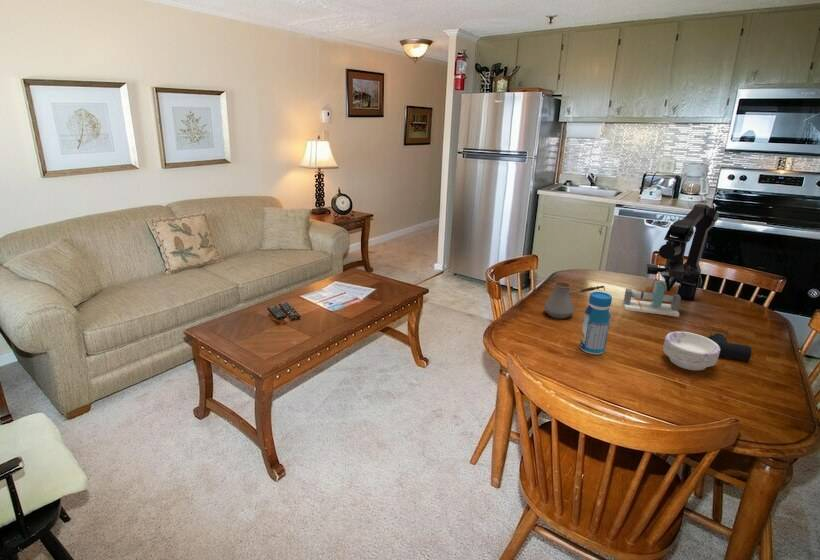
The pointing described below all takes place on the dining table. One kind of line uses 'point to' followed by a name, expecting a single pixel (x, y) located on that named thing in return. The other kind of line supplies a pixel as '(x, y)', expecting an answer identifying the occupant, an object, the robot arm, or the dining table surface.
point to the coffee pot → (563, 300)
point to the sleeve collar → (658, 293)
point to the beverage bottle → (596, 323)
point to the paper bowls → (691, 350)
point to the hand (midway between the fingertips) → (667, 291)
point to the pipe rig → (647, 306)
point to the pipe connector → (730, 347)
